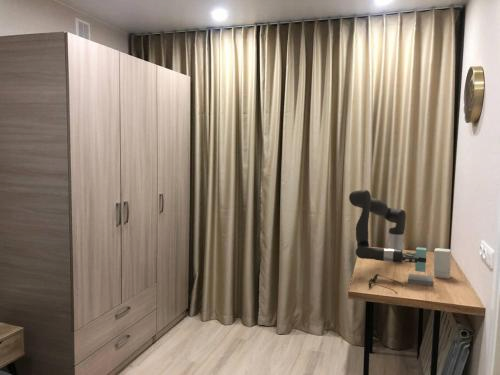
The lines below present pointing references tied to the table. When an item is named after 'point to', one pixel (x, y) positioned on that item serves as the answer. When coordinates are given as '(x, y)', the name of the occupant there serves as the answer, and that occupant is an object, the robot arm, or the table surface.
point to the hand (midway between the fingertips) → (426, 259)
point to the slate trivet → (420, 279)
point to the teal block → (420, 254)
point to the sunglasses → (379, 285)
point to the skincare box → (442, 263)
